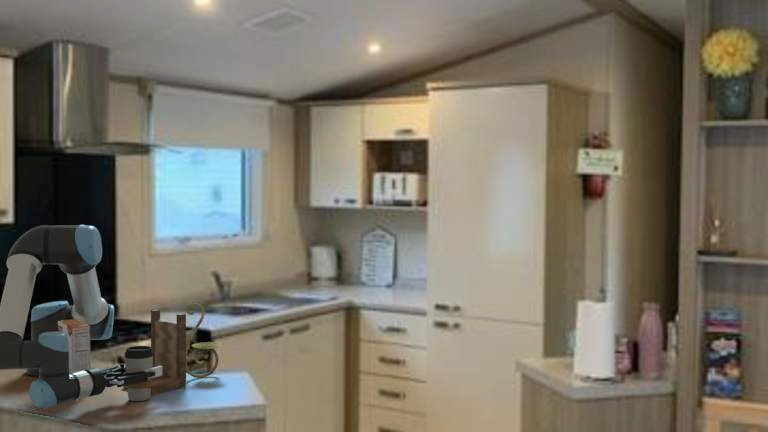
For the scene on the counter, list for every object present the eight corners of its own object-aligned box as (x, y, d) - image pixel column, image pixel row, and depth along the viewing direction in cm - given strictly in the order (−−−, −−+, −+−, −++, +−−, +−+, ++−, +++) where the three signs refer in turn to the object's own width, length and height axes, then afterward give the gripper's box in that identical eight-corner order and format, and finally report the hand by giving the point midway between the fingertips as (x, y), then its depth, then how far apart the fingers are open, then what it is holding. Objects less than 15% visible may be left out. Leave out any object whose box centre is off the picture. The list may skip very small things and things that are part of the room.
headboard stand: (123, 387, 261) (122, 314, 260) (157, 379, 272) (156, 309, 271) (152, 395, 253) (151, 319, 252) (186, 386, 264) (185, 313, 263)
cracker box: (57, 386, 262) (56, 320, 261) (77, 383, 266) (76, 318, 265) (71, 396, 251) (70, 327, 250) (91, 393, 255) (91, 324, 254)
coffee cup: (128, 394, 252) (127, 345, 251) (156, 394, 253) (156, 345, 252) (121, 402, 244) (121, 351, 243) (150, 402, 244) (150, 351, 244)
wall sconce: (186, 383, 267) (185, 305, 266) (174, 377, 275) (174, 302, 274) (226, 377, 276) (225, 302, 274) (213, 372, 283) (213, 298, 282)
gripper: (64, 391, 239) (131, 375, 258) (108, 403, 227) (175, 386, 246) (64, 365, 239) (131, 351, 258) (108, 375, 227) (175, 360, 246)
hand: (152, 368), depth 252 cm, fingers closed on coffee cup, 7 cm apart
